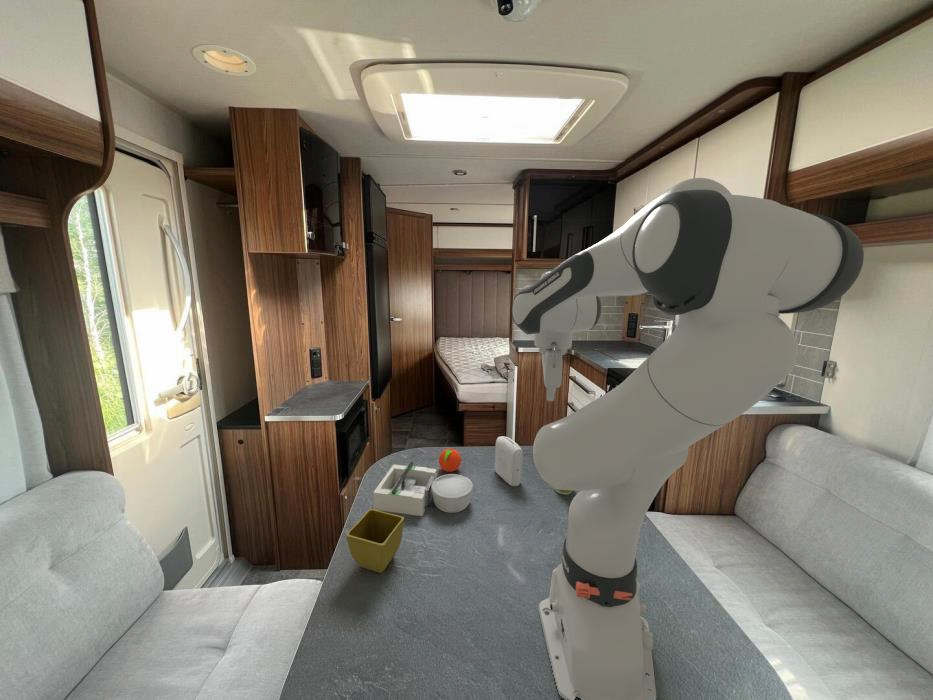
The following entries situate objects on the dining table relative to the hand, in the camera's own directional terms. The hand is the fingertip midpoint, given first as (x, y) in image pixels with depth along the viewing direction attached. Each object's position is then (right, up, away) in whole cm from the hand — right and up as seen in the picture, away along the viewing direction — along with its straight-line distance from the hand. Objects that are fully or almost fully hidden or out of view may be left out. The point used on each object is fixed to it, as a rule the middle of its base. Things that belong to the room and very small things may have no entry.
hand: (549, 393), depth 91 cm
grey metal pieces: (-35, -29, +9) cm, 47 cm away
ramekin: (-25, -30, +7) cm, 40 cm away
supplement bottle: (+7, -29, +13) cm, 33 cm away
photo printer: (-8, -28, +19) cm, 35 cm away
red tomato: (-26, -27, +22) cm, 43 cm away
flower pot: (-40, -35, -13) cm, 54 cm away
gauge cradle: (-37, -29, +9) cm, 48 cm away
